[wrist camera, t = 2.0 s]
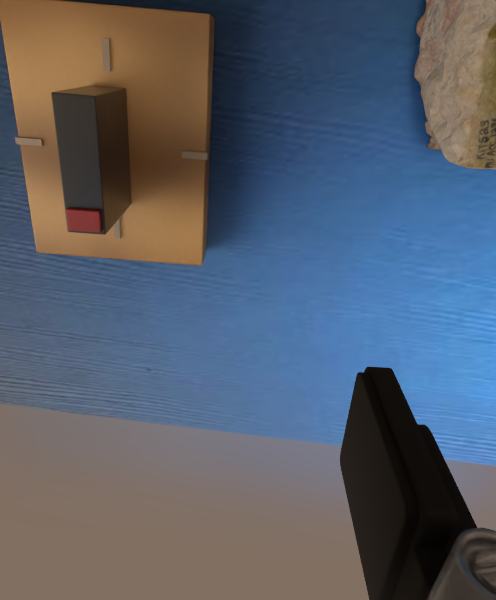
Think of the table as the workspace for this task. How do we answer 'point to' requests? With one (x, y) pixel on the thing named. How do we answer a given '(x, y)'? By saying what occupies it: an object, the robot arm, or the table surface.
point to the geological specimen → (459, 79)
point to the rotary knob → (93, 156)
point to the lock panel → (140, 112)
